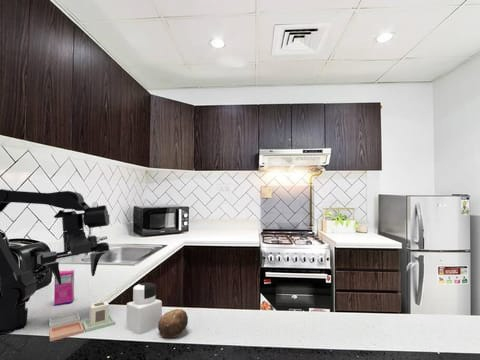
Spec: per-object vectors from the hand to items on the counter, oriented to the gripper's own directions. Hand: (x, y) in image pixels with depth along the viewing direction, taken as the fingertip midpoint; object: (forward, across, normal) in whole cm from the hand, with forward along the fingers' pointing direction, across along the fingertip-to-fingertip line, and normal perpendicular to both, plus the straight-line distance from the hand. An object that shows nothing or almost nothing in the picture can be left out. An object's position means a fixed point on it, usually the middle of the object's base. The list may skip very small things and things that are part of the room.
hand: (77, 280), depth 83 cm
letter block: (+13, +3, -8) cm, 15 cm away
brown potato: (+15, +14, -31) cm, 37 cm away
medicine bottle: (+15, +10, -21) cm, 28 cm away
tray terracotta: (+12, -5, -7) cm, 15 cm away
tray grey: (+12, -4, +3) cm, 13 cm away
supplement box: (+11, +2, +25) cm, 28 cm away
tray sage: (+13, +2, -8) cm, 16 cm away
